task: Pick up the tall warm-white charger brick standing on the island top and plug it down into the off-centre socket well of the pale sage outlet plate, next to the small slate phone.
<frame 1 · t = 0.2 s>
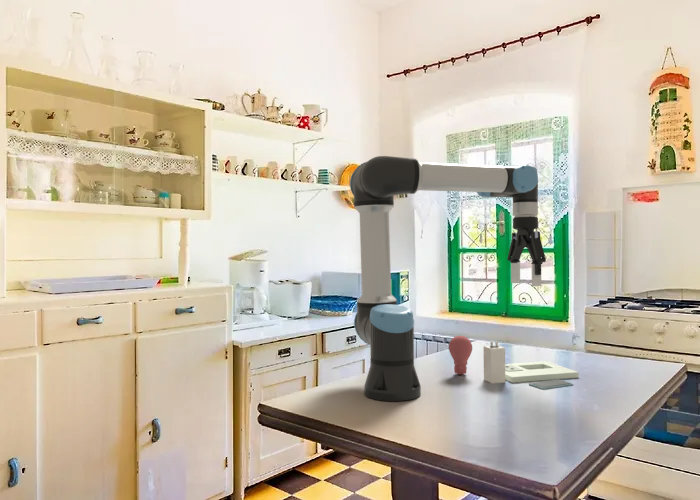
hand: (525, 284, 172), 27 cm above the table, fingers open, 13 cm apart
light bulb: (460, 375, 169), on the table
outlet plate: (530, 373, 169), on the table
phone: (551, 387, 156), on the table
charger: (494, 381, 161), on the table
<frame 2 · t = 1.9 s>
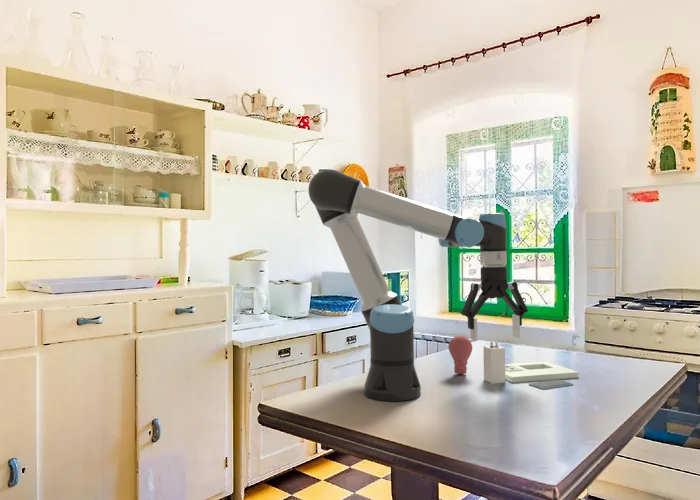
hand: (495, 338, 161), 12 cm above the table, fingers open, 13 cm apart
nothing on the table moved.
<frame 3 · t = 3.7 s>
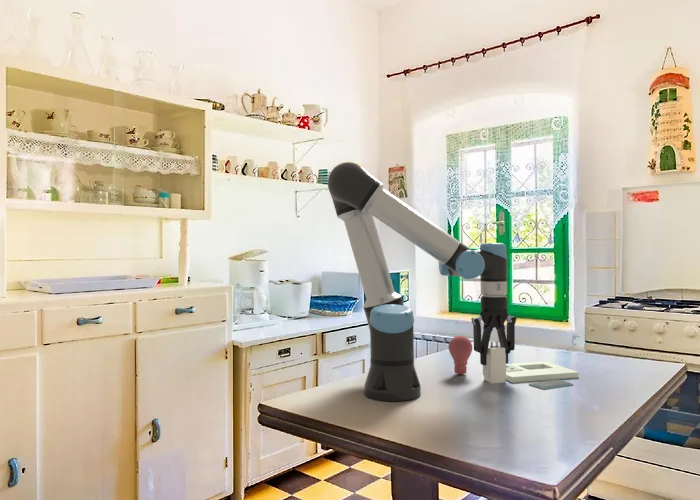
hand: (494, 375, 161), 2 cm above the table, fingers closed on charger, 4 cm apart
charger: (494, 381, 161), on the table, touching gripper
everything else where it was.
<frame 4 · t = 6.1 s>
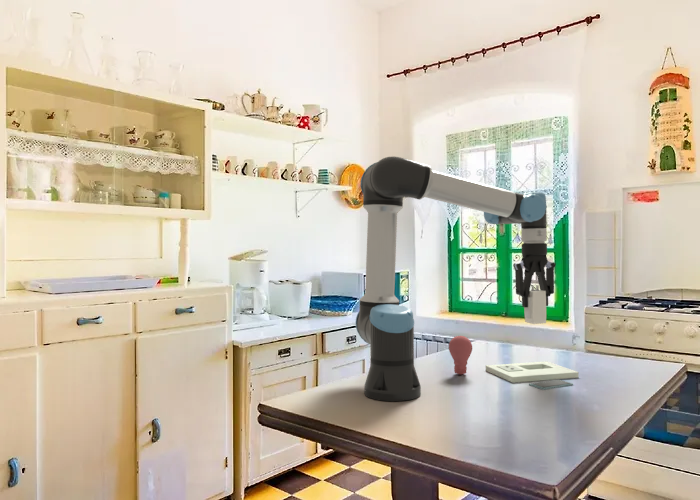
hand: (535, 317, 171), 17 cm above the table, fingers closed on charger, 4 cm apart
charger: (535, 322, 171), point 15 cm above the table, touching gripper
everything else where it was.
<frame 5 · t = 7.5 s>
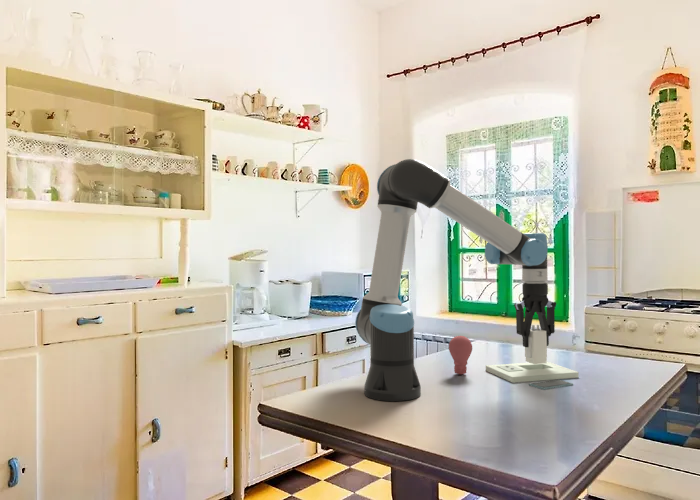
hand: (535, 356, 172), 5 cm above the table, fingers closed on charger, 4 cm apart
charger: (536, 362, 172), point 3 cm above the table, touching gripper
everything else where it was.
when the fingers open (3 cm above the table, at t = 8.4 s): charger drops 1 cm, resting in outlet plate.
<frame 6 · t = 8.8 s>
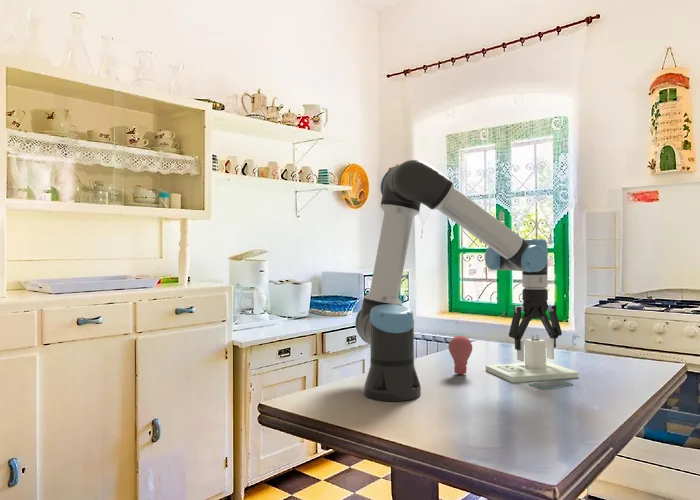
hand: (535, 359, 172), 4 cm above the table, fingers open, 10 cm apart
charger: (535, 372, 172), resting in outlet plate
everything else where it was.
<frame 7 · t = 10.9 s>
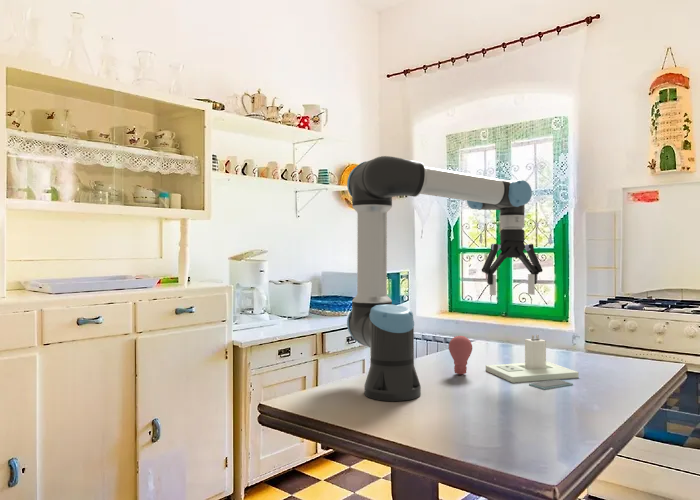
hand: (512, 294, 178), 24 cm above the table, fingers open, 13 cm apart
nothing on the table moved.
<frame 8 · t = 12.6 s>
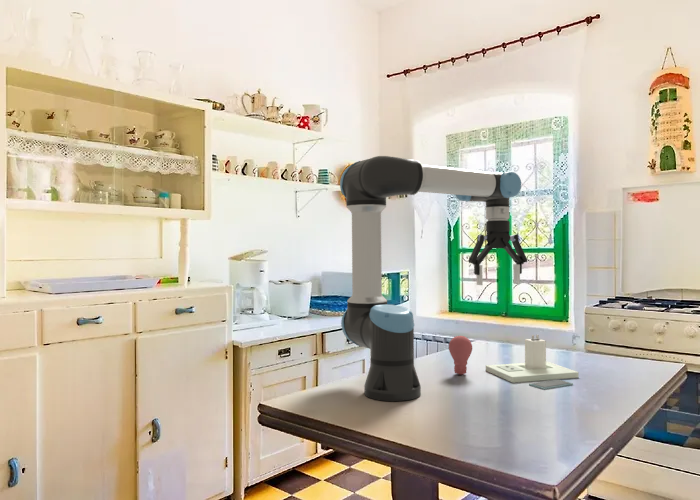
hand: (498, 284, 182), 27 cm above the table, fingers open, 13 cm apart
nothing on the table moved.
at the end: charger 0.1 cm from the target spot on the outlet plate, point 0.0 cm above the outlet plate's base; charger tilted 0°; the gripper is holding nothing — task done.
